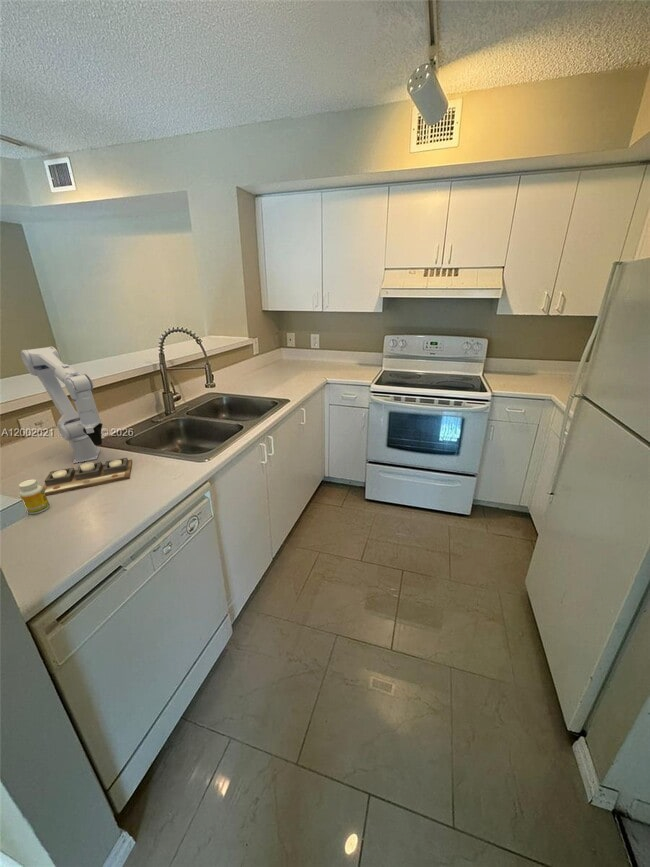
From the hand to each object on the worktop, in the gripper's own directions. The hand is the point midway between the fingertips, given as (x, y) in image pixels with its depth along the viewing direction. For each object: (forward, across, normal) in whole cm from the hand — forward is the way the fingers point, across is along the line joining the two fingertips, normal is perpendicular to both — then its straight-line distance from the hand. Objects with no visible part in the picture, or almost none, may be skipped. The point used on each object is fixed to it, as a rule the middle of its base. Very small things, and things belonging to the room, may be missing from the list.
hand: (98, 444), depth 122 cm
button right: (+8, +6, +4) cm, 11 cm away
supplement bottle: (+10, +21, -16) cm, 28 cm away
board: (+9, +7, -4) cm, 12 cm away
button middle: (+7, +5, -4) cm, 10 cm away
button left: (+8, +5, -13) cm, 16 cm away
